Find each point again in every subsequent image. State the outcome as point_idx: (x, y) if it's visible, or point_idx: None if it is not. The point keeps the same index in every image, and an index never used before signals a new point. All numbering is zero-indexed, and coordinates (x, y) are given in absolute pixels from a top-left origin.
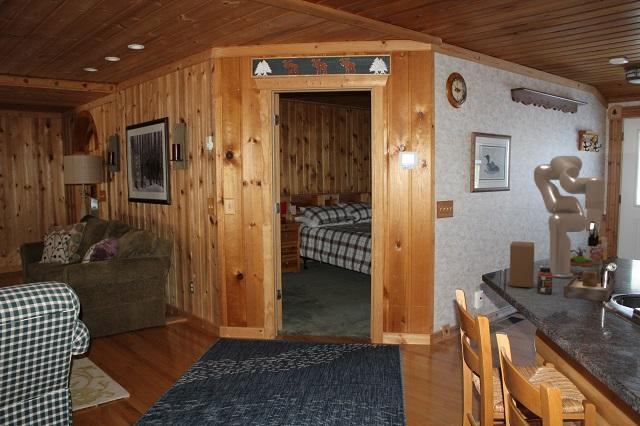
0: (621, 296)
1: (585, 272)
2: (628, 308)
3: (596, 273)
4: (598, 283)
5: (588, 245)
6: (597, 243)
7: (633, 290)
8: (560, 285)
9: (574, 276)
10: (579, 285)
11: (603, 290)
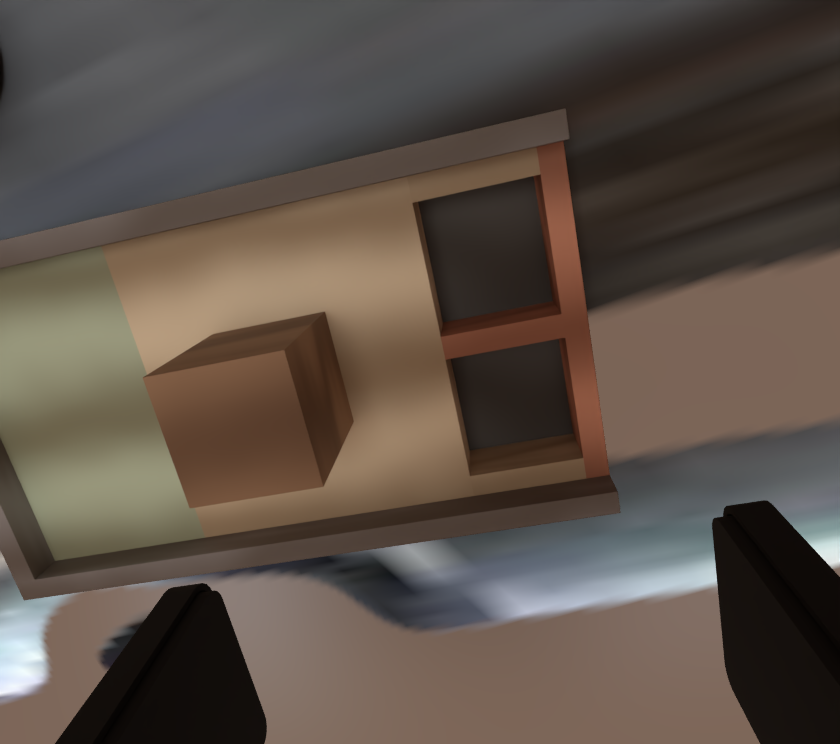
0: (338, 574)
1: (153, 404)
2: (19, 673)
3: (247, 494)
4: (445, 409)
5: (169, 599)
6: (737, 683)
7: (645, 590)
8: (413, 19)
9: (480, 147)
10: (204, 307)
11: (12, 574)
